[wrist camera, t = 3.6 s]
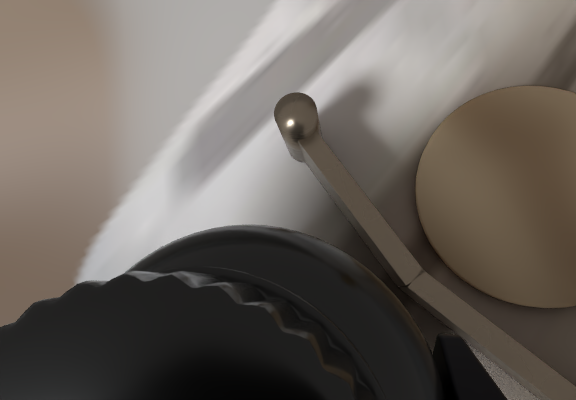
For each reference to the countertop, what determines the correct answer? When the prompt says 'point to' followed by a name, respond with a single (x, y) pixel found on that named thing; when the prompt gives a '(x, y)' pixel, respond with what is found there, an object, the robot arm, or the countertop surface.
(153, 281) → the supplement bottle
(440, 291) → the bent rail
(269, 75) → the countertop surface
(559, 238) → the cork coaster
